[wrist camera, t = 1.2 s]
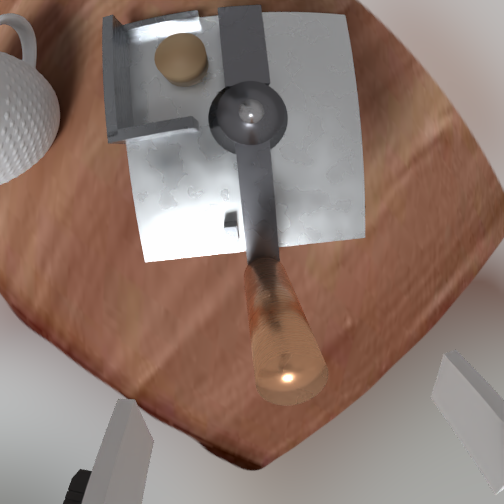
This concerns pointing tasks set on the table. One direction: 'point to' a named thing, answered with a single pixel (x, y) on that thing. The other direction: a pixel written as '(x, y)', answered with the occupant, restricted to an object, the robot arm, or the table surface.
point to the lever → (264, 216)
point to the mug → (24, 105)
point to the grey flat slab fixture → (223, 149)
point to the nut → (182, 59)
